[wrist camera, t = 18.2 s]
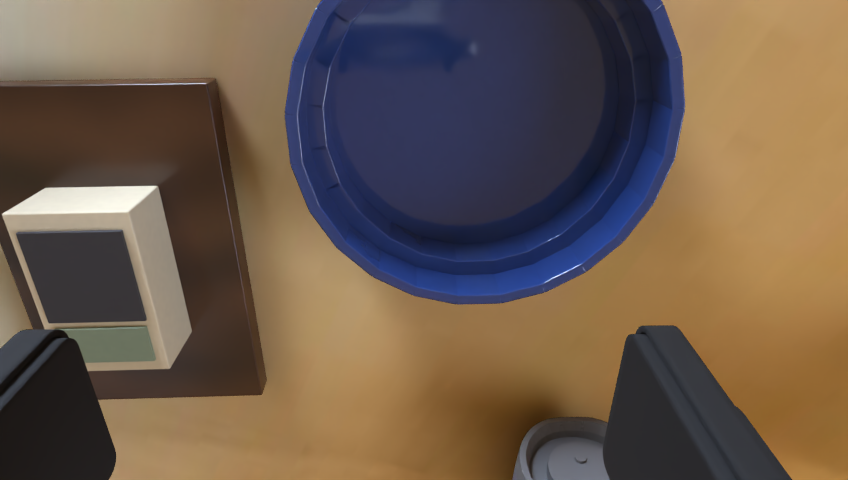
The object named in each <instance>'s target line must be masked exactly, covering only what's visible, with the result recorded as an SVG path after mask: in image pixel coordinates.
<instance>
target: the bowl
mask: <svg viewBox="0 0 848 480" xmlns="http://www.w3.org/2000/svg"><path fill="white" fill-rule="evenodd" d="M684 112H685V97H684V81H683V66H682V56H681V51H680V49H679V46H678V43H677V40H676V37H675V35H674V32H673V29H672V26H671V23H670V21H669V18H668V15H667V12H666V10H665V7H664V5H663V3H662V1H661V0H322V1H321V2H320V3H319V4H318V6H317V8H316V9H315V11H314V13H313V15H312V18H311V20H310V22H309V24H308V26H307V29H306V31H305V33H304V35H303V38H302V40H301V42H300V44H299V47H298V49H297V51H296V53H295V56H294V58H293V61H292V67H291V74H290V81H289V87H288V94H287V101H286V107H285V122H286V131H287V139H288V147H289V156H290V164H291V167H292V170H293V172H294V175H295V177H296V180H297V182H298V185H299V187H300V190H301V192H302V195H303V197H304V200H305V202H306V205H307V207H308V209H309V212H310V213H311V214H312V216H313V217H314V218H315V220H316V221H317V222H318V224H319V225H320V226H321V228H322V229H323V230H324V232H325V233H326V234H327V236H328V237H329V238H330V240H331V241H332V242H333V244H334V245H335V246H336V248H338V249H339V250H340V251H341V252H342V253H344V254H345V255H346V256H347V257H349V258H350V259H351V260H352V261H353V262H355V263H356V264H357V265H358V266H360V267H361V268H362V269H363V270H365V271H366V272H367V273H368V274H370V275H371V276H373V277H374V278H376V279H378V280H380V281H383V282H385V283H387V284H389V285H391V286H393V287H396V288H398V289H400V290H402V291H404V292H406V293H408V294H411V295H413V296H417V297H422V298H427V299H432V300H437V301H442V302H447V303H451V304H497V303H505V302H509V301H513V300H517V299H521V298H525V297H529V296H533V295H537V294H541V293H544V292H547V291H549V290H551V289H553V288H555V287H557V286H559V285H561V284H563V283H565V282H567V281H569V280H571V279H573V278H575V277H577V276H579V275H581V274H583V273H585V272H586V271H588V270H589V269H591V268H592V267H593V266H594V265H596V264H597V263H598V262H599V261H601V260H602V259H603V258H604V257H606V256H607V255H608V254H609V253H611V252H612V251H613V250H614V249H616V248H617V247H618V246H619V245H621V244H622V243H623V242H624V241H625V240H626V238H627V237H628V236H629V235H630V233H631V232H632V231H633V229H634V228H635V227H636V226H637V224H638V223H639V222H640V221H641V219H642V218H643V217H644V216H645V214H646V213H647V212H648V211H649V209H650V208H651V207H652V206H653V203H654V202H655V200H656V198H657V196H658V194H659V192H660V190H661V188H662V185H663V183H664V181H665V179H666V177H667V175H668V173H669V171H670V169H671V166H672V164H673V162H674V160H675V159H674V158H675V157H676V152H677V147H678V142H679V137H680V132H681V127H682V122H683V117H684Z"/></svg>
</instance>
